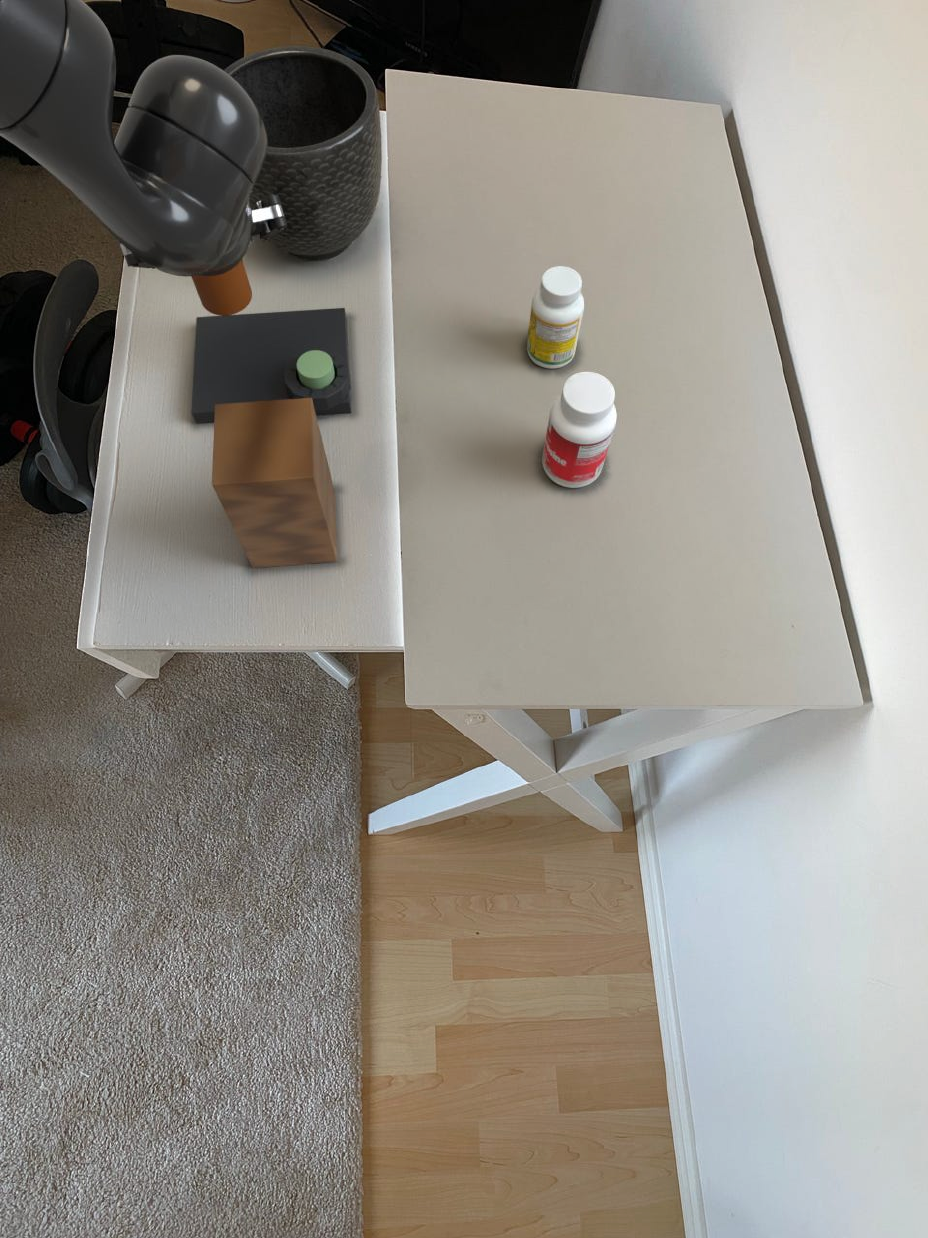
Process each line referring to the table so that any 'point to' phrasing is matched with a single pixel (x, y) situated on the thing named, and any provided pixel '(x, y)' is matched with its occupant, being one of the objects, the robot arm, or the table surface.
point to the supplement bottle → (555, 318)
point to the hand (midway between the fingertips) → (208, 244)
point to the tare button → (315, 369)
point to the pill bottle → (579, 430)
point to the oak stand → (275, 481)
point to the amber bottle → (224, 291)
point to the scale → (268, 359)
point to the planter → (315, 145)
